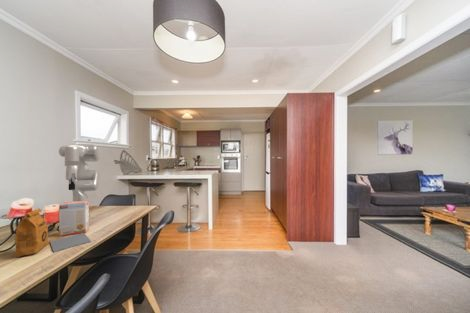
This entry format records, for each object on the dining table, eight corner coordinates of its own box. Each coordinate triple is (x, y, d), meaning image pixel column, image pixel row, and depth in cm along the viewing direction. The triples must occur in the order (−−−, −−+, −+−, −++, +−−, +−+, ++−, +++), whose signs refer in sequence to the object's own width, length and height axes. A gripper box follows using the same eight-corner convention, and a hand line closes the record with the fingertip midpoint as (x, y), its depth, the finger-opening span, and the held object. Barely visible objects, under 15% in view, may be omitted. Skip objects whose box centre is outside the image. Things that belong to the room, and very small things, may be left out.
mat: (49, 242, 108) (49, 241, 108) (84, 233, 120) (84, 232, 120) (53, 252, 96) (53, 251, 96) (90, 241, 109) (90, 240, 109)
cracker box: (89, 229, 126) (89, 200, 126) (85, 233, 121) (85, 202, 121) (63, 232, 121) (63, 201, 121) (58, 236, 116) (58, 204, 116)
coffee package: (52, 244, 105) (52, 207, 105) (36, 255, 93) (36, 213, 93) (29, 247, 102) (29, 208, 102) (10, 259, 90) (11, 215, 90)
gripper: (63, 163, 129) (62, 189, 129) (66, 164, 119) (66, 191, 119) (76, 163, 135) (76, 187, 135) (81, 163, 125) (81, 190, 125)
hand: (71, 189), depth 127 cm, fingers closed
